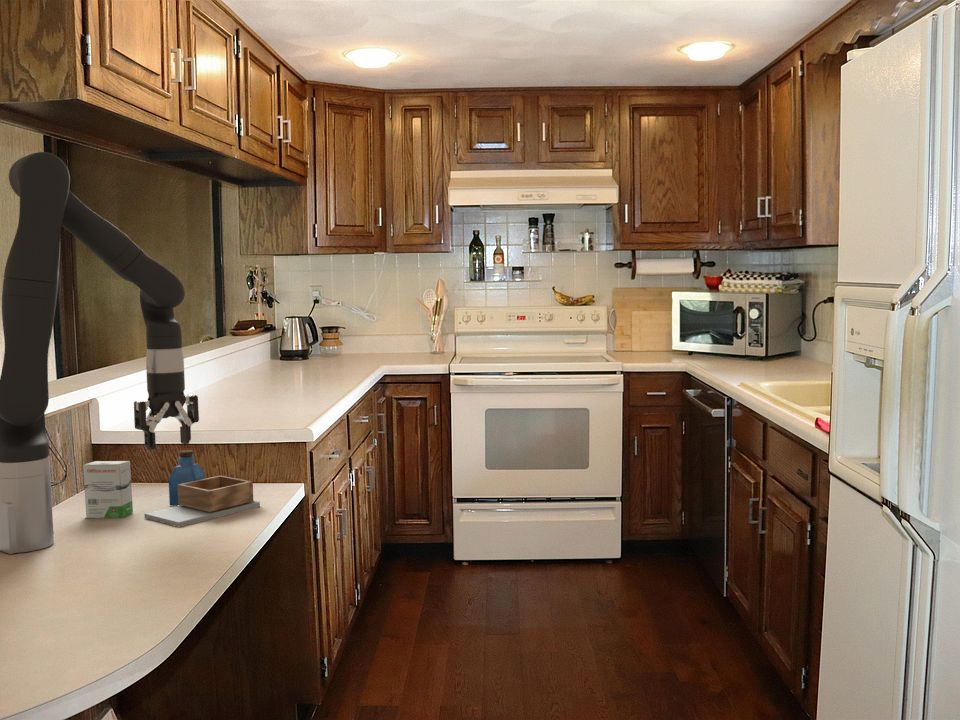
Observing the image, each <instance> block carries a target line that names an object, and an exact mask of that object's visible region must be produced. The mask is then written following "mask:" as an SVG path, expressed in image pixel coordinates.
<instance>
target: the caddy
mask: <svg viewBox="0 0 960 720" xmlns="http://www.w3.org/2000/svg"><path fill="white" fill-rule="evenodd" d="M252 483H253V481H251V480H246V479H242V478H236V477H232V476H231V477H230V476H226V475H217V476H212V477H208V478H205V479H202V480H197V481H192V482H188V483H183V484H178V485H177V487H178V505H182V506H187V507H191V508H195V509H199V510H204V511H208V512H211V511H215V510H219V509H224V508H228V507H232V506H236V505H240V504H244V503H248V502H252V501H254V486H253V487H252Z"/></svg>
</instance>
